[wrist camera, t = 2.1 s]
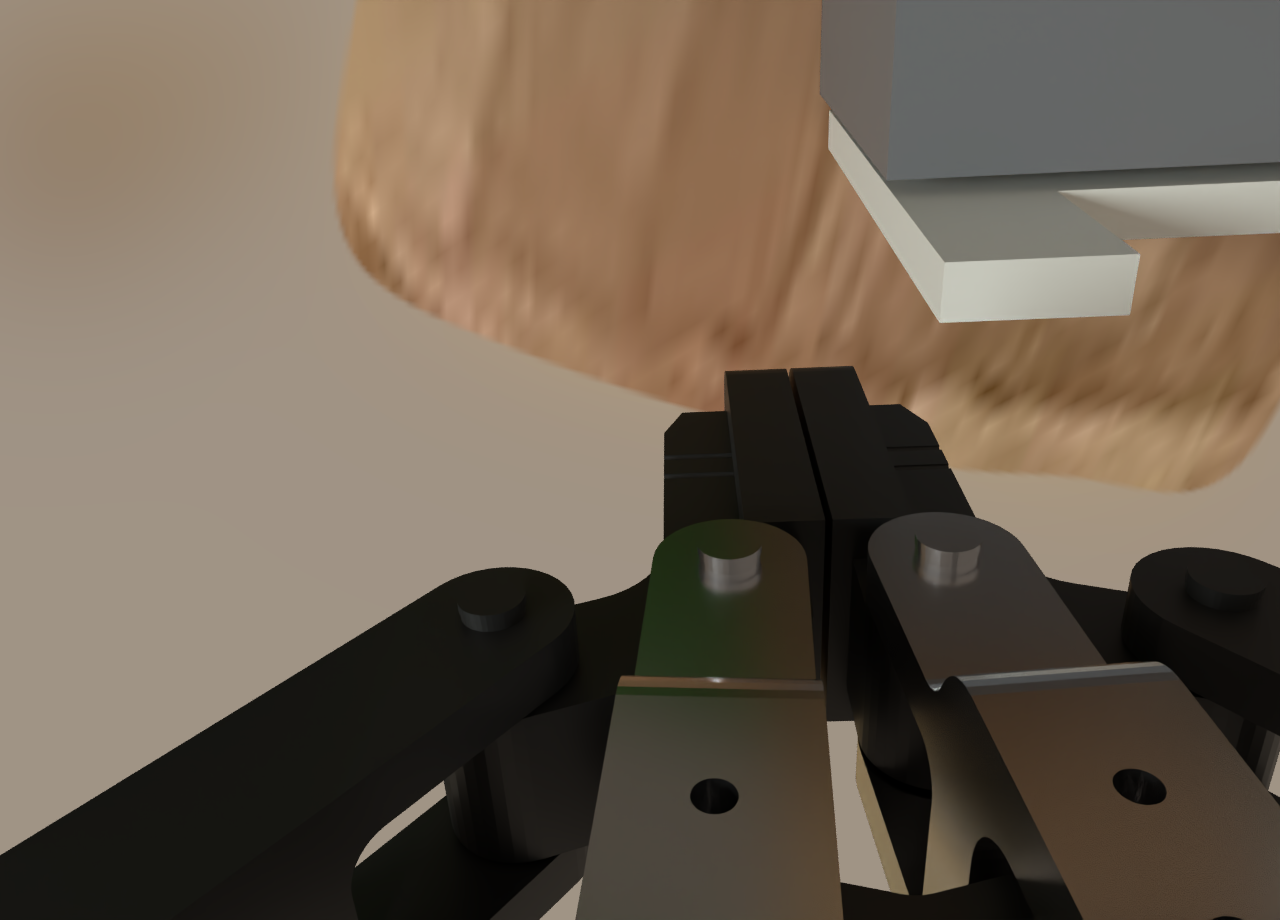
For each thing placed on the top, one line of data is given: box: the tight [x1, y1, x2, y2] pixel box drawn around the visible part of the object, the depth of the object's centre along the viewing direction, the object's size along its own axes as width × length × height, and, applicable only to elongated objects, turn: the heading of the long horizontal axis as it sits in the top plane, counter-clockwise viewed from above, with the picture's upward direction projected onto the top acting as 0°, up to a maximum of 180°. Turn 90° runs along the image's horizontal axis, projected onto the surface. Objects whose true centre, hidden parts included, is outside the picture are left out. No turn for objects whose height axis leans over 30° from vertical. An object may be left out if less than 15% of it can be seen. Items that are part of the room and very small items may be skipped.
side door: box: [828, 110, 1280, 323], centre depth 23 cm, size 1×10×14 cm, turn 93°
